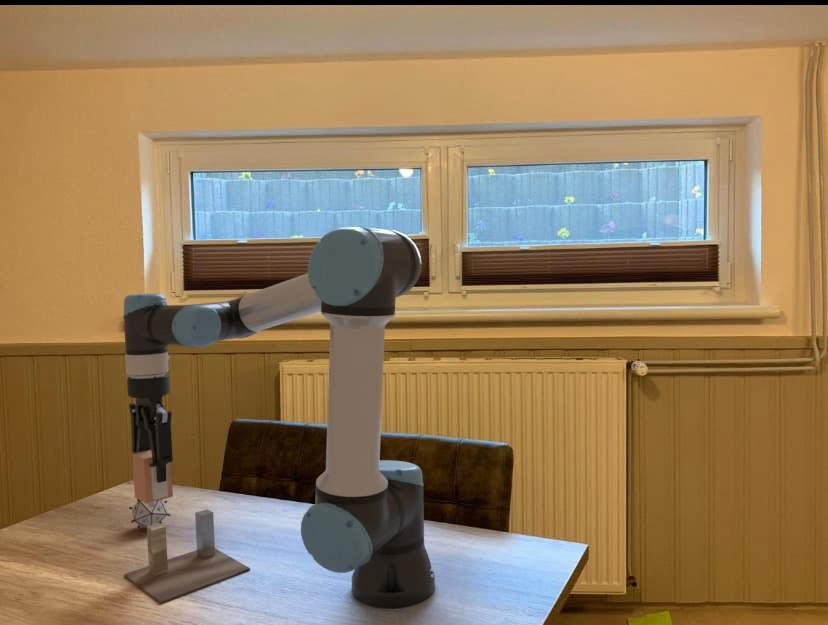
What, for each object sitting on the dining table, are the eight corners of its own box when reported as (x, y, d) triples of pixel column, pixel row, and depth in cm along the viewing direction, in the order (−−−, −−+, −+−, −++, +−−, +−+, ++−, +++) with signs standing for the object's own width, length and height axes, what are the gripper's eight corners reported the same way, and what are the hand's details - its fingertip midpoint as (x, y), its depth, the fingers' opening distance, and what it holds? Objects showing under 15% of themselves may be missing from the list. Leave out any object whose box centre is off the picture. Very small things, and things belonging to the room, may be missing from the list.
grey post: (215, 555, 138) (213, 512, 138) (203, 559, 137) (201, 515, 136) (209, 551, 140) (206, 509, 140) (197, 555, 138) (195, 512, 138)
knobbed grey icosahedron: (160, 542, 156) (184, 508, 155) (129, 542, 149) (154, 506, 148) (145, 515, 161) (168, 482, 160) (114, 514, 154) (138, 479, 153)
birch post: (167, 571, 131) (165, 526, 131) (154, 576, 130) (152, 530, 129) (162, 567, 133) (159, 522, 133) (149, 571, 131) (146, 526, 131)
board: (250, 570, 132) (250, 568, 132) (160, 604, 119) (160, 601, 119) (210, 547, 143) (210, 545, 143) (124, 576, 131) (124, 574, 131)
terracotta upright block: (172, 496, 130) (170, 452, 130) (146, 503, 127) (143, 458, 126) (161, 490, 134) (159, 448, 134) (134, 497, 131) (132, 453, 130)
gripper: (189, 377, 125) (194, 500, 127) (147, 367, 138) (152, 479, 140) (149, 383, 120) (154, 511, 121) (109, 372, 133) (115, 488, 134)
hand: (153, 493), depth 130 cm, fingers closed on terracotta upright block, 5 cm apart
